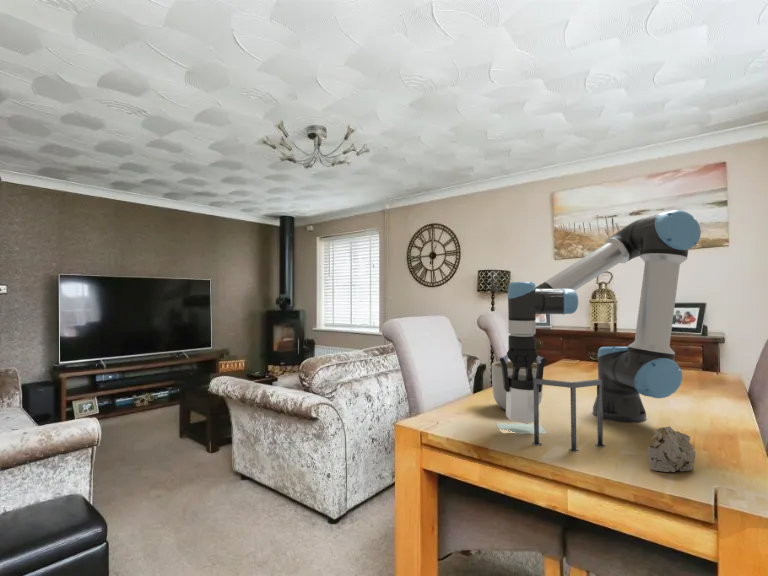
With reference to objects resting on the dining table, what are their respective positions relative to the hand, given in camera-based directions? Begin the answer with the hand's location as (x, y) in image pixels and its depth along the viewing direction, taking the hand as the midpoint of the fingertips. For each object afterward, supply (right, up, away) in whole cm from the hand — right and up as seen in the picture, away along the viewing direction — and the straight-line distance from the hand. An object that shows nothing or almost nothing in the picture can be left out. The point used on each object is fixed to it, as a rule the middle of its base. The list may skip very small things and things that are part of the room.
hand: (522, 415), depth 117 cm
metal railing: (+8, -4, -13) cm, 16 cm away
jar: (0, -1, 0) cm, 1 cm away
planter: (+6, -5, +24) cm, 25 cm away
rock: (+24, -4, -28) cm, 38 cm away
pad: (0, -5, 0) cm, 5 cm away
